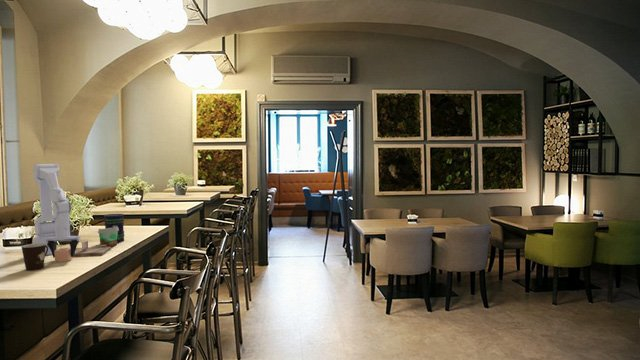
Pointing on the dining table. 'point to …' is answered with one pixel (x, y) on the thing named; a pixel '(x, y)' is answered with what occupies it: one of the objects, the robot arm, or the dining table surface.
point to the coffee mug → (34, 256)
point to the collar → (63, 254)
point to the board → (92, 251)
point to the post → (84, 245)
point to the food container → (108, 236)
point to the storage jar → (115, 224)
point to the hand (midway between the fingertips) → (63, 256)
